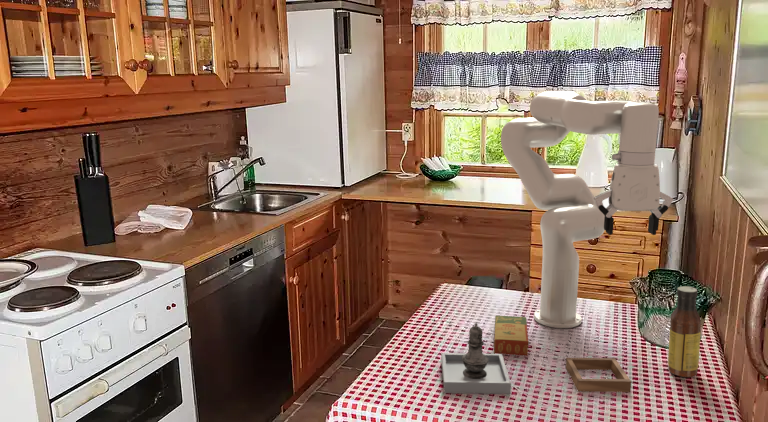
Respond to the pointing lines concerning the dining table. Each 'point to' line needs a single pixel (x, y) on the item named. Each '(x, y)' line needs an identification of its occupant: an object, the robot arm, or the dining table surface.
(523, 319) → the carton
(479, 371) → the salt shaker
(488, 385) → the tray
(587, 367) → the wooden square frame
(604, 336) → the dining table surface
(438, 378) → the dining table surface
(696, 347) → the sauce bottle
